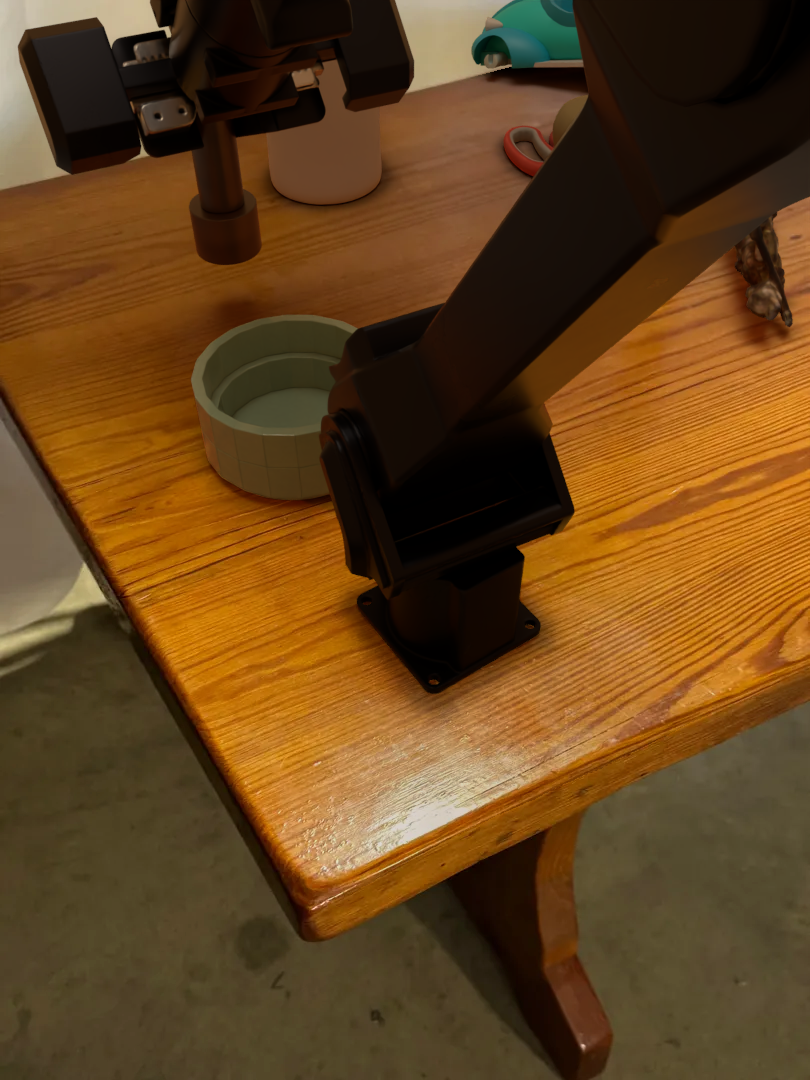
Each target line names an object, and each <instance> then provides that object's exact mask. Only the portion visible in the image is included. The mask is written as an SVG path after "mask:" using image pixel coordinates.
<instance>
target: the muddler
mask: <svg viewBox="0 0 810 1080" xmlns="http://www.w3.org/2000/svg"><path fill="white" fill-rule="evenodd" d="M195 120H196V123H197V126H198V129H199V132H200V135H201V138H202V141H203V144H204V148H201V149H197V150H192V151H190V152H191V157H192V163H193V168H194V174H195V175H194V176H195V181H196V185H197V186H196V187H197V194H196V195H194V196H193V197H192V198H191V199H190V201H189V204H188V210H189V216H190V222H191V227H192V232H193V238H194V243H195V244H194V245H195V249H196V250H195V251H196V253H197V255H198V257H199V258H200V259H202V260H203V261H205V262H206V263H209V264H212V265H217V266H233V265H234V266H235V265H239V264H243V263H245V262H249V261H251V260H253V259H254V258H255V257H256V256H258V254H259V253H260V252H261V250H262V247H263V242H262V235H261V234H262V233H261V227H260V219H259V211H258V210H259V209H258V202H257V198H256V197H255V195H254V194H253V193H252V192H251V191H249V190H247V189H245V188H244V186H243V179H242V172H241V164H240V156H239V150H238V141H237V138H236V133H235V126H234V118H233V119H229V120H224V121H219V122H215V123H210V124H205V125H202V124H201V121H200V118H199V115H198V112H196V117H195Z"/></svg>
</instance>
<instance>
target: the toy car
mask: <svg viewBox="0 0 810 1080" xmlns="http://www.w3.org/2000/svg"><path fill="white" fill-rule="evenodd" d="M572 4H573V0H512V1H510V2H508V3H506V4H505V5H504V6H502V7H501V8H500V9H499V10H497V11H496V12H495V13H494V14H493V15H492V16H491V17H489V16H487V17H486V19H485V22H484V27H483V29H482V32H481V34H479V35H478V36H477V37H476V38H475V39H474V41H472V45H471V47H470V48H471V50H470V52H471V53H470V54H471V57H472V60H473V62H474V63H475V65H478V66H479V65H480V66H481V67H483V66H484V67H485V68H486V69H489V70H490V69H493V70H494V69H495V68H499V67H506V66H511V69H527V68H529V69H530V68H584V65H583V60H582V55H581V50H580V45H579V39H578V34H577V29H576V24H575V18H574V13H573V8H572Z"/></svg>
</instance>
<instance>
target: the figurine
mask: <svg viewBox="0 0 810 1080" xmlns="http://www.w3.org/2000/svg"><path fill="white" fill-rule="evenodd" d="M776 217H778V212H776V213H775V214H773V215H772V216H770V217H769V218H768V219H767V220H766V221H764V222H763V223H762V224H761V225H760V226H758V227H757V228H756V229H755V230H753V231H752V232H751V233H750V234H749V235H747V236H746V237H745V238H744V239H743V240H741V241H740V242H739V243H738V244H736V245H735V246H734V249H735V253H736V261H735V262H734V268H735V270H736V272H737V273H739V274H740V275H741V276H742V278H743V279H744V281H745V282H746V283H747V284H748V285H749V286H748V287H746V291H745V293H744V297H745V298H747V301H746V303H745V305H746V308H747V309H748V310H749V311H750V312H751V313H752V314H754V315H755V316H758V317H761V318H765V319H766V320H767V321H769V322H771V321H773V320H775V319H776V318H777V317H778V316H779V315H780V318H781V320H782V322H784V326H786V327H787V328H791V327H792V326H793V324H794V322H793V320H794V319H793V312H792V311H791V309H790V305H789V303H788V299H787V297H786V293H785V284H786V278H785V273H786V272H785V269H784V268H783V263H782V257H781V255H780V254H779V246H780V245H779V243H780V242H779V237H778V235H777V233H776V231H775V228H774V219H775V218H776Z"/></svg>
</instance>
